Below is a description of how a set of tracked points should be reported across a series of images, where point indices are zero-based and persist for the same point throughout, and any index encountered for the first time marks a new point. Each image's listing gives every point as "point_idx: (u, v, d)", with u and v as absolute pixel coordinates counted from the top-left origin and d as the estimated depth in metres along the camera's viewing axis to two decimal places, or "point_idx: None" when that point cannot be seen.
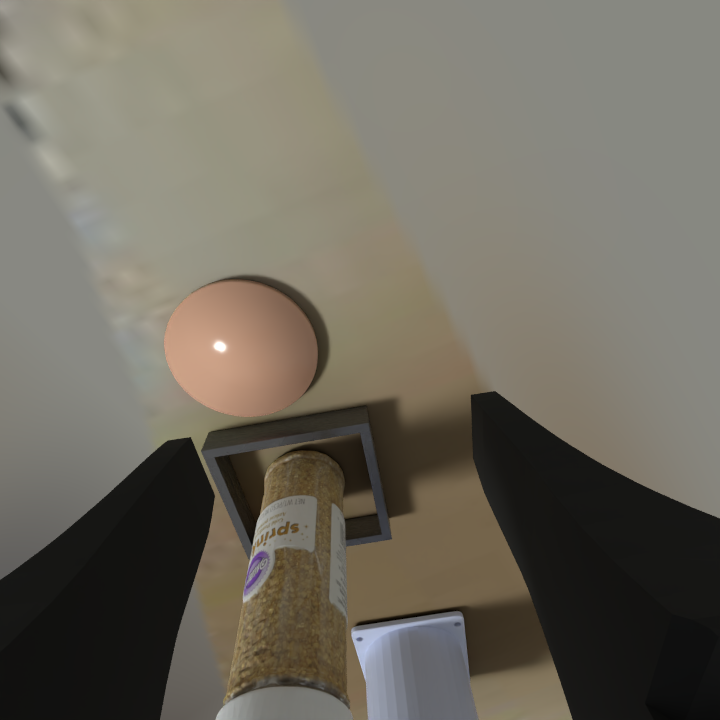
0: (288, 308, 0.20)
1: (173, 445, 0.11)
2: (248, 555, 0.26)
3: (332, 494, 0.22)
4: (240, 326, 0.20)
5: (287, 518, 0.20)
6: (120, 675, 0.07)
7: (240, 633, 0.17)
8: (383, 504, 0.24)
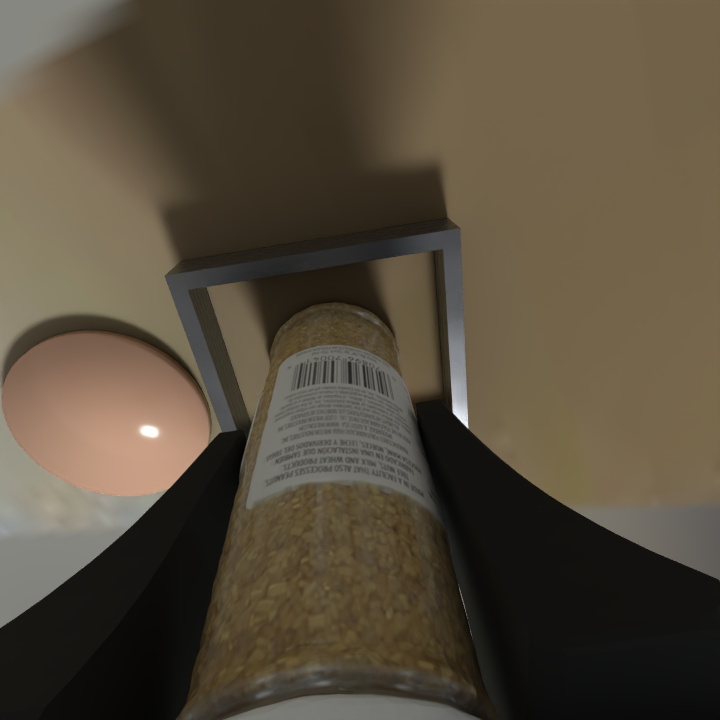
0: (22, 368, 0.15)
1: (227, 437, 0.11)
2: None
3: (285, 355, 0.13)
4: (66, 422, 0.16)
5: None
6: None
7: None
8: (359, 247, 0.12)
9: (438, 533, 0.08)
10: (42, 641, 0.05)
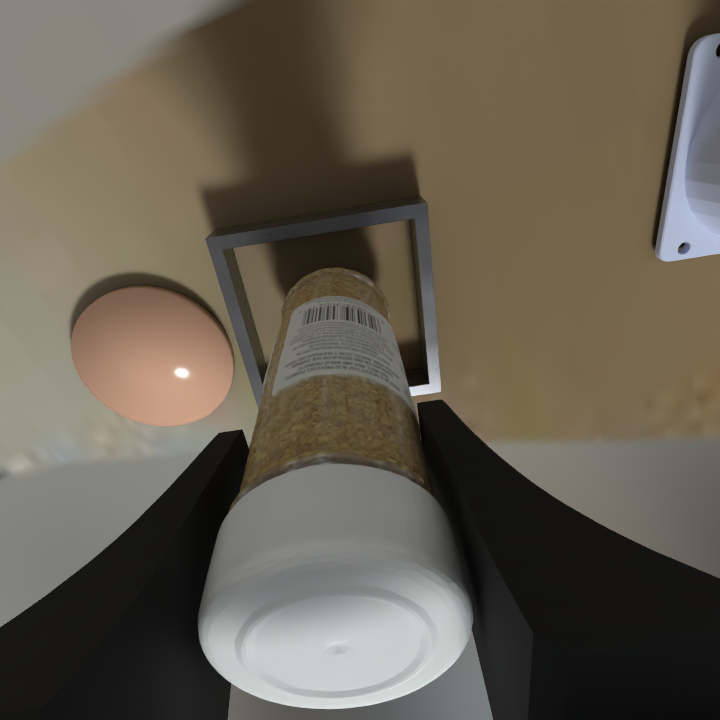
0: (88, 315, 0.19)
1: (226, 436, 0.11)
2: (429, 392, 0.20)
3: (295, 306, 0.16)
4: (120, 361, 0.20)
5: None
6: (197, 665, 0.07)
7: None
8: (352, 216, 0.17)
9: (409, 414, 0.11)
10: (40, 641, 0.05)
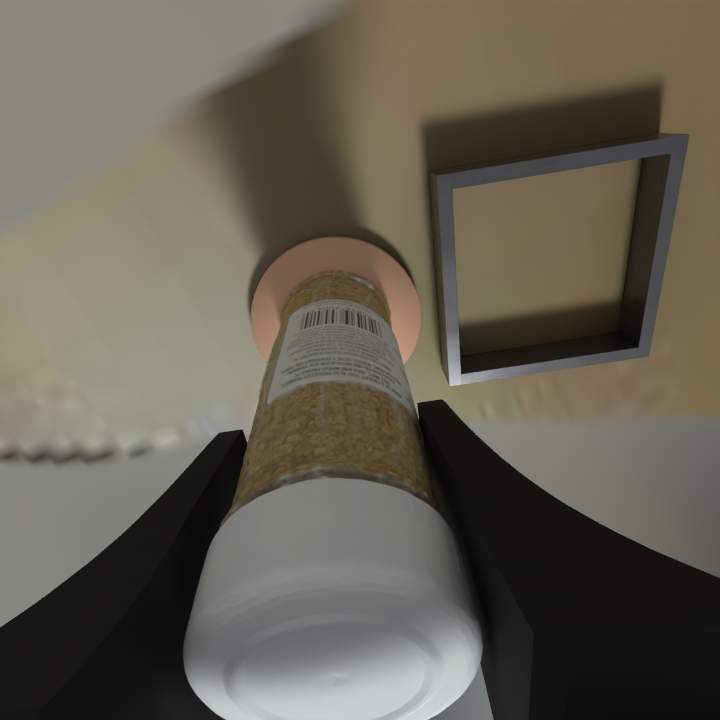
0: (278, 268, 0.17)
1: (226, 436, 0.11)
2: (635, 356, 0.19)
3: (294, 310, 0.15)
4: None
5: None
6: None
7: None
8: (603, 150, 0.15)
9: (412, 422, 0.10)
10: (40, 641, 0.05)
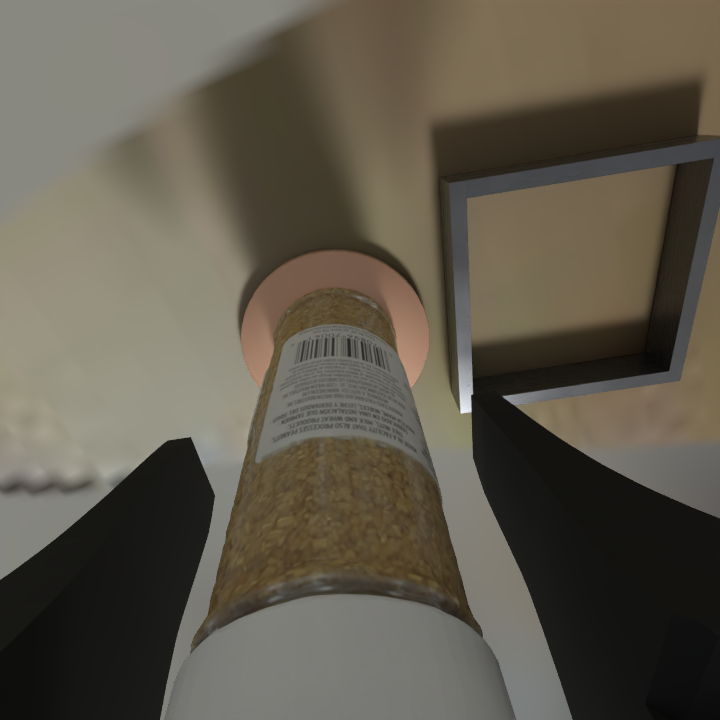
0: (270, 285, 0.15)
1: (173, 445, 0.11)
2: (665, 380, 0.17)
3: (288, 334, 0.13)
4: None
5: None
6: (120, 675, 0.07)
7: None
8: (637, 155, 0.13)
9: (430, 484, 0.08)
10: None
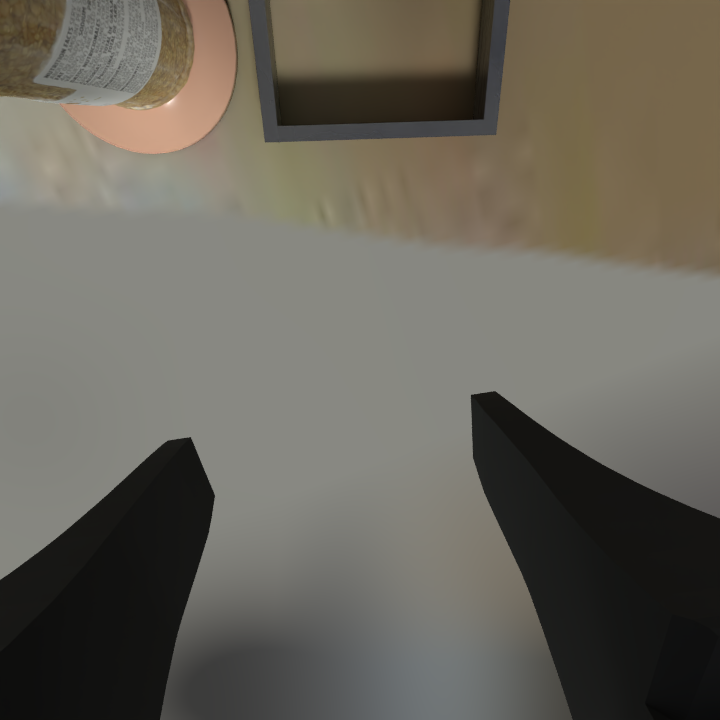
0: None
1: (173, 445, 0.11)
2: (481, 132, 0.16)
3: None
4: None
5: None
6: (120, 675, 0.07)
7: None
8: None
9: None
10: None
